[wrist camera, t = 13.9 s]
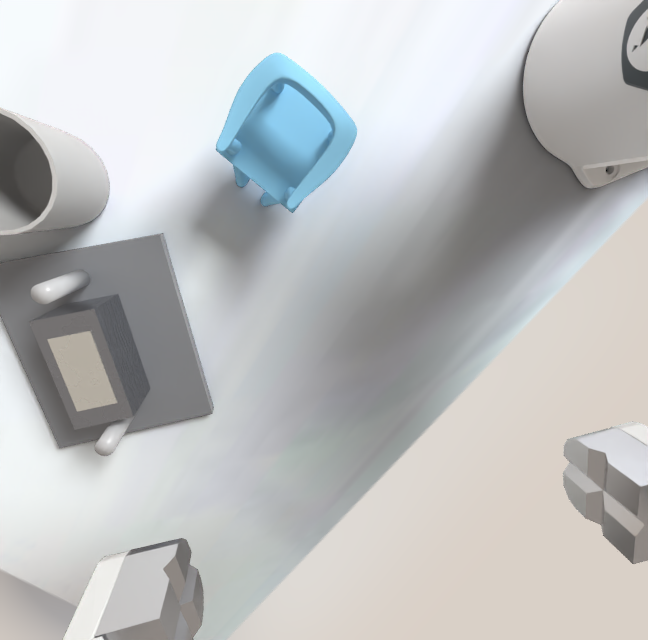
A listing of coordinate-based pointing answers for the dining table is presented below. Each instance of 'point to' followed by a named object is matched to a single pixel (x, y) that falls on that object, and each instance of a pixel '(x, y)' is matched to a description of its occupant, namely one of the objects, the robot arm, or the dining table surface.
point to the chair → (285, 132)
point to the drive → (93, 360)
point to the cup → (47, 177)
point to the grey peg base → (144, 320)
